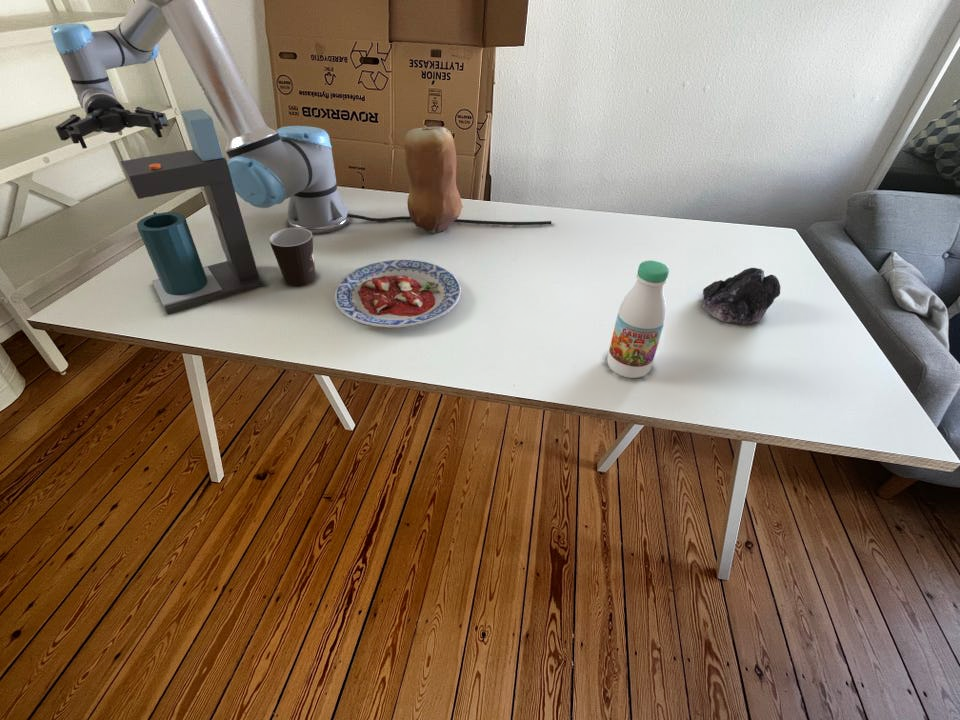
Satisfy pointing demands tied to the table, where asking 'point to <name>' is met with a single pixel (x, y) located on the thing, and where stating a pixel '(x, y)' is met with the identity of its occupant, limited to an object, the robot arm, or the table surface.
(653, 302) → the milk bottle
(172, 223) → the teal tumbler
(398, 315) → the ceramic plate
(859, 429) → the table surface
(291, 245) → the coffee mug
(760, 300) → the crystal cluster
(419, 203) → the butternut squash
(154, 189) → the coffee maker
